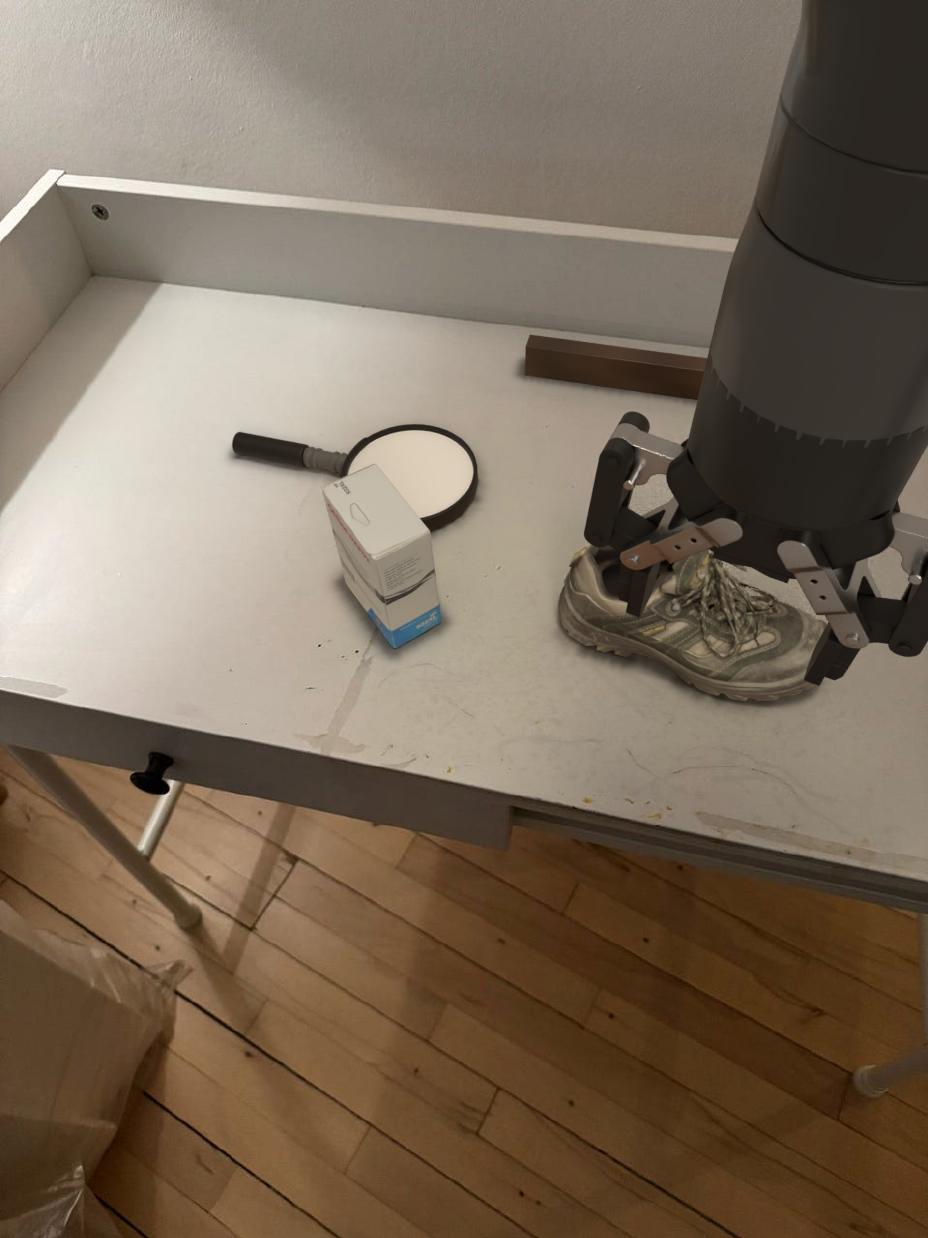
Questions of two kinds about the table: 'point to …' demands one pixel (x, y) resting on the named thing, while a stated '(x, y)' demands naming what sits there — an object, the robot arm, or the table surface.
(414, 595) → the ink box
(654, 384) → the brown rectangular bar
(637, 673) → the table surface
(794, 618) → the hiking shoe
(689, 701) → the table surface
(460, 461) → the magnifying glass
